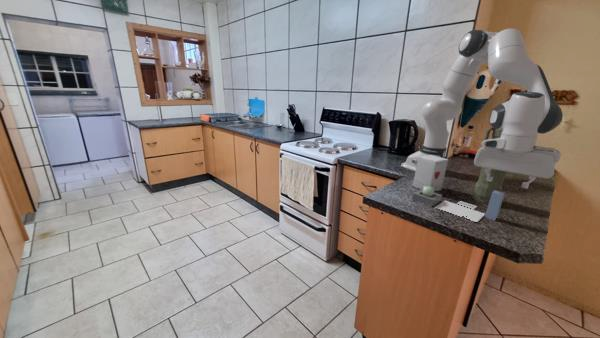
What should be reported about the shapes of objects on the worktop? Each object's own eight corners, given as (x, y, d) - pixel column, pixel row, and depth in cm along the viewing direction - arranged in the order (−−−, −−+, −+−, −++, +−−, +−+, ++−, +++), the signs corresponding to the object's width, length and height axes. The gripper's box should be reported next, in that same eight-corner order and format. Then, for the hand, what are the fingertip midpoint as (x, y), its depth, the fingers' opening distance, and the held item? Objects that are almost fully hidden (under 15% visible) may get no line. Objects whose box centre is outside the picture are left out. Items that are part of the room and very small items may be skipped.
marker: (484, 217, 88) (492, 192, 85) (487, 214, 90) (494, 190, 87) (494, 220, 86) (502, 195, 83) (496, 218, 88) (505, 193, 85)
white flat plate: (434, 208, 94) (434, 207, 94) (444, 201, 100) (445, 200, 100) (476, 223, 84) (476, 222, 84) (485, 214, 90) (485, 213, 90)
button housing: (412, 199, 101) (413, 193, 100) (421, 195, 106) (422, 188, 105) (431, 207, 95) (433, 200, 94) (440, 201, 100) (441, 195, 99)
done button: (420, 195, 100) (421, 187, 99) (424, 193, 102) (426, 185, 101) (430, 198, 97) (431, 190, 96) (434, 196, 99) (436, 188, 98)
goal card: (456, 204, 98) (456, 203, 98) (460, 201, 100) (460, 200, 100) (473, 209, 94) (473, 208, 93) (476, 206, 96) (477, 206, 96)
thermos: (506, 207, 96) (536, 118, 85) (472, 202, 100) (497, 116, 88) (496, 198, 105) (522, 116, 93) (465, 194, 108) (487, 114, 96)
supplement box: (429, 193, 107) (436, 161, 103) (412, 186, 115) (417, 156, 110) (441, 190, 111) (449, 159, 107) (424, 183, 119) (430, 154, 114)
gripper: (563, 147, 72) (550, 190, 76) (482, 139, 88) (474, 175, 92) (561, 150, 69) (547, 195, 72) (476, 141, 84) (468, 178, 88)
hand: (506, 184), depth 82 cm, fingers open, 8 cm apart
